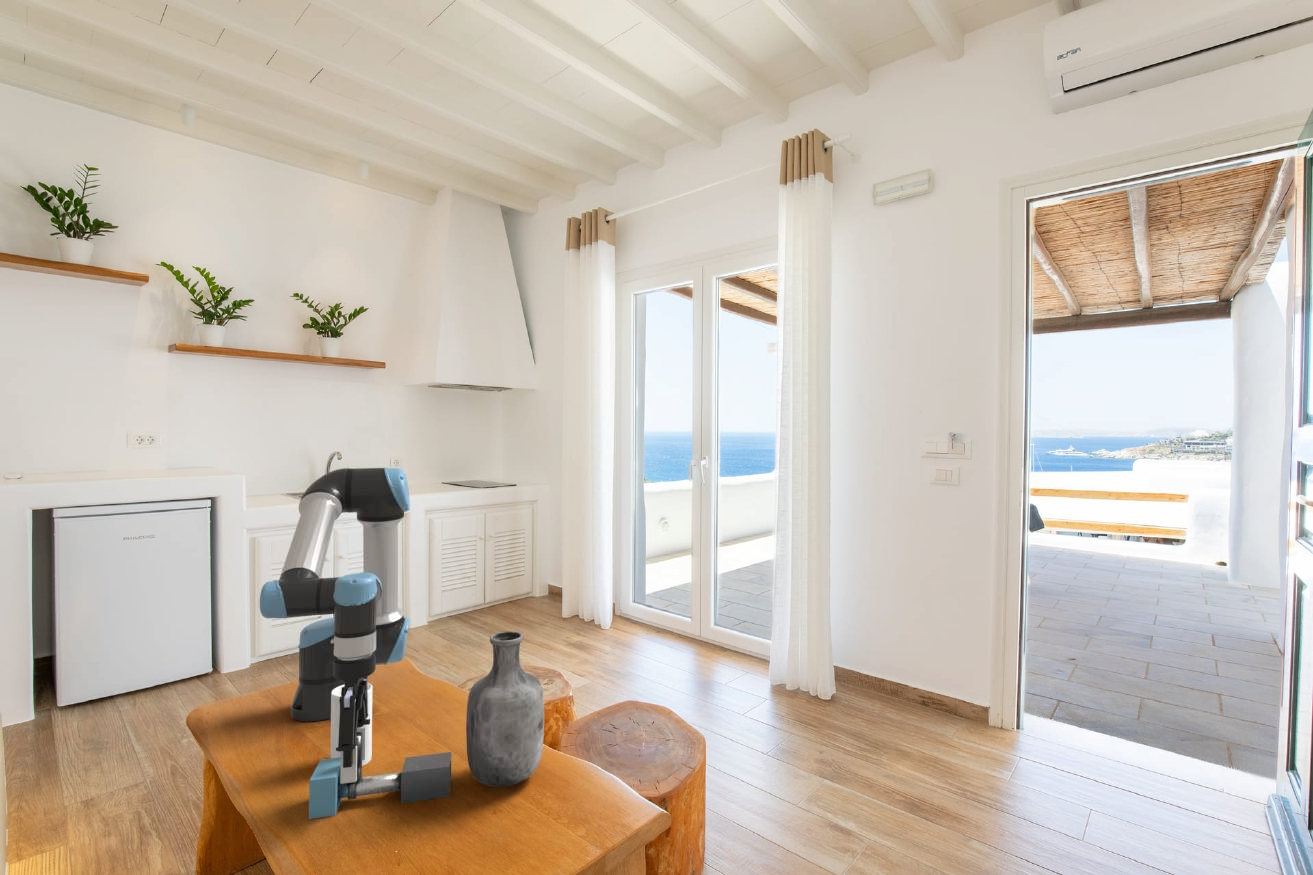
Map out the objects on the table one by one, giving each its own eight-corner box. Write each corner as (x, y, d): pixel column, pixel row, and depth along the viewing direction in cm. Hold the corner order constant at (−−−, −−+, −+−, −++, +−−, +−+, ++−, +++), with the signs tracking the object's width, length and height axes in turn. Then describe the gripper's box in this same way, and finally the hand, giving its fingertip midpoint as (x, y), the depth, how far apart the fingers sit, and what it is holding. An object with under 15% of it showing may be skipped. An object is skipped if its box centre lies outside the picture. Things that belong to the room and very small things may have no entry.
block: (451, 780, 127) (451, 751, 127) (449, 796, 121) (449, 766, 121) (405, 786, 124) (405, 757, 124) (401, 803, 119) (401, 772, 119)
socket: (344, 792, 122) (345, 756, 122) (335, 815, 115) (335, 776, 115) (320, 795, 121) (320, 759, 121) (308, 818, 113) (309, 780, 114)
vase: (473, 808, 117) (475, 653, 117) (459, 769, 131) (460, 630, 132) (553, 787, 124) (554, 641, 125) (531, 752, 139) (532, 621, 139)
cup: (354, 772, 130) (355, 697, 130) (321, 768, 131) (322, 694, 132) (379, 753, 138) (380, 683, 138) (348, 750, 139) (348, 680, 140)
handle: (418, 783, 124) (418, 723, 124) (415, 794, 120) (416, 732, 120) (325, 796, 120) (325, 734, 120) (319, 807, 116) (320, 743, 116)
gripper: (346, 639, 128) (344, 747, 128) (319, 674, 109) (317, 802, 108) (384, 636, 130) (383, 743, 130) (365, 670, 111) (363, 796, 110)
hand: (353, 770), depth 119 cm, fingers open, 8 cm apart
